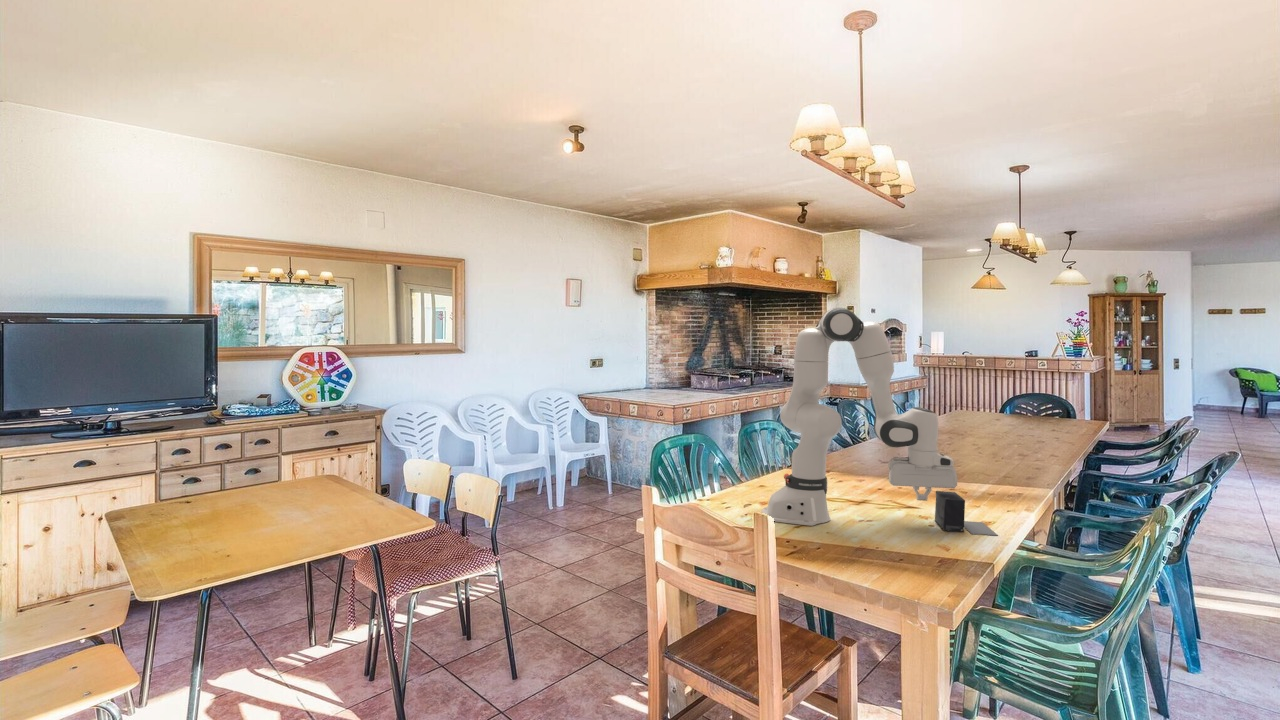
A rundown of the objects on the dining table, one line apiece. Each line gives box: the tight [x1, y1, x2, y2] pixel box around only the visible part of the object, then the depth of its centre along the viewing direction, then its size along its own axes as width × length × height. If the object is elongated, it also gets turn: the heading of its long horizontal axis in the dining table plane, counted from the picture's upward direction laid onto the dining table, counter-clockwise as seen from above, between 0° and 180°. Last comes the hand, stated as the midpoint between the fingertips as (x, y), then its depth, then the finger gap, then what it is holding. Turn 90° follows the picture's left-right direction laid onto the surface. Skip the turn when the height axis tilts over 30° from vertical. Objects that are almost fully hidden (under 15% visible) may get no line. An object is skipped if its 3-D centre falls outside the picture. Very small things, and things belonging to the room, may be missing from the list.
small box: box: [934, 490, 966, 533], centre depth 196 cm, size 11×6×10 cm, turn 168°
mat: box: [964, 520, 999, 537], centre depth 194 cm, size 8×13×1 cm, turn 169°
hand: (921, 500), depth 197 cm, fingers closed
